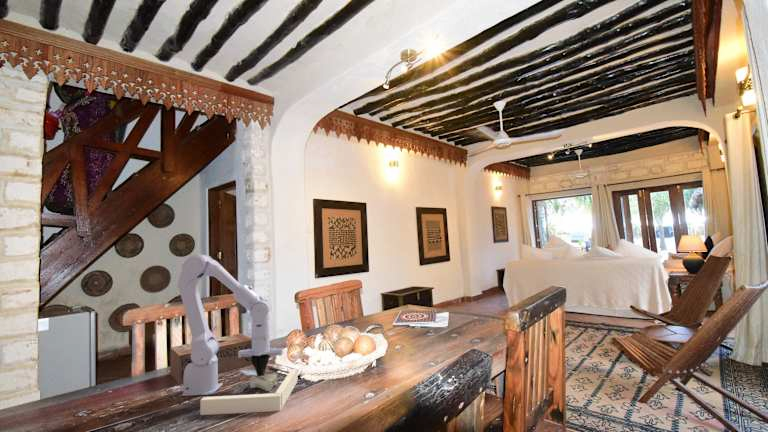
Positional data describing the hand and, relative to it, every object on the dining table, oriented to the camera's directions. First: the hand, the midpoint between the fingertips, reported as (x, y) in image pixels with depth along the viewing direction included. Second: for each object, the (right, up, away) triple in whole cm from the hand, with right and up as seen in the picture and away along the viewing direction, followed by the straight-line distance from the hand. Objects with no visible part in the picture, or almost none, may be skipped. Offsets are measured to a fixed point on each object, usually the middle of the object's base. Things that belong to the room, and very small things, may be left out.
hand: (261, 378), depth 115 cm
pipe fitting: (+2, -2, -4) cm, 5 cm away
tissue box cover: (-24, -5, +16) cm, 29 cm away
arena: (+1, -1, -10) cm, 10 cm away
